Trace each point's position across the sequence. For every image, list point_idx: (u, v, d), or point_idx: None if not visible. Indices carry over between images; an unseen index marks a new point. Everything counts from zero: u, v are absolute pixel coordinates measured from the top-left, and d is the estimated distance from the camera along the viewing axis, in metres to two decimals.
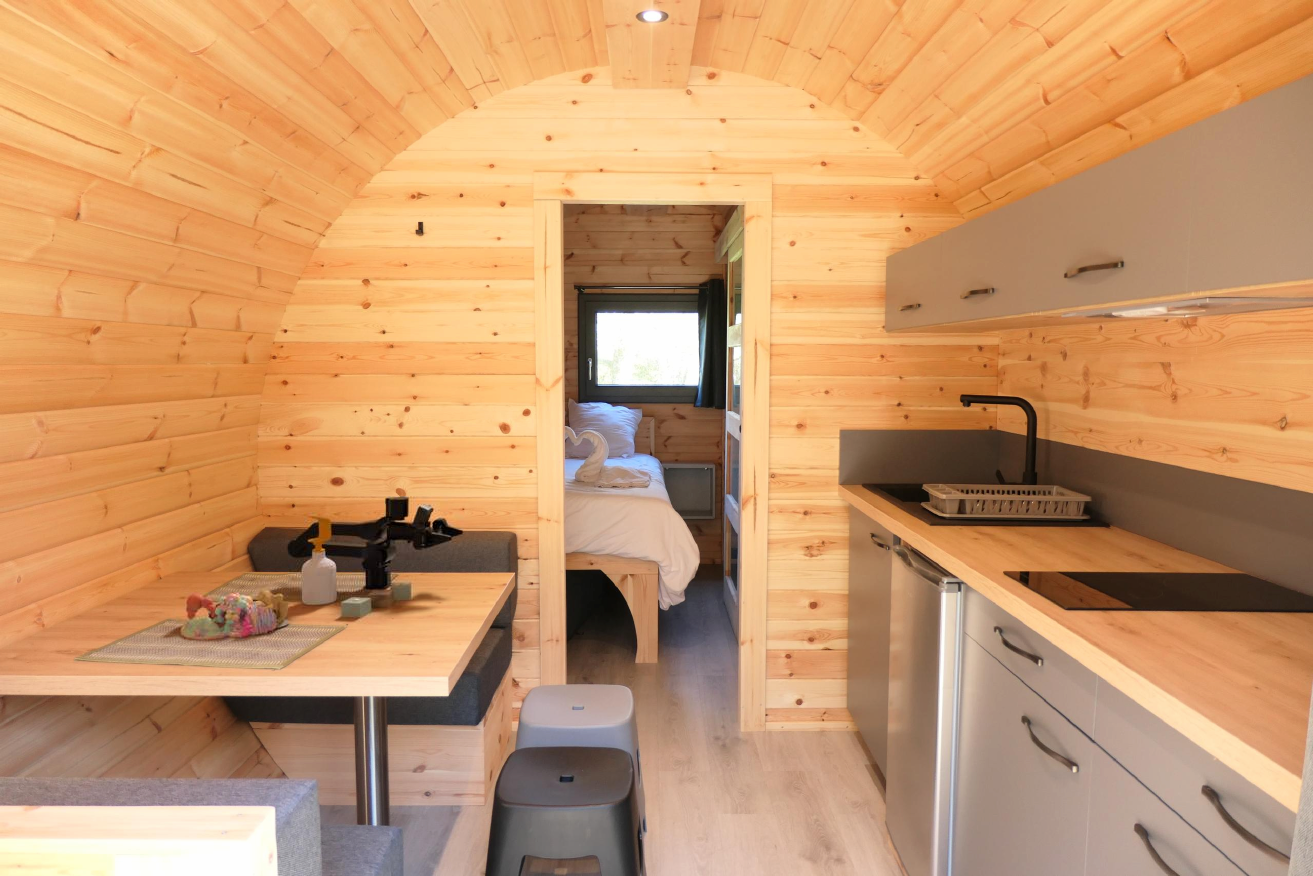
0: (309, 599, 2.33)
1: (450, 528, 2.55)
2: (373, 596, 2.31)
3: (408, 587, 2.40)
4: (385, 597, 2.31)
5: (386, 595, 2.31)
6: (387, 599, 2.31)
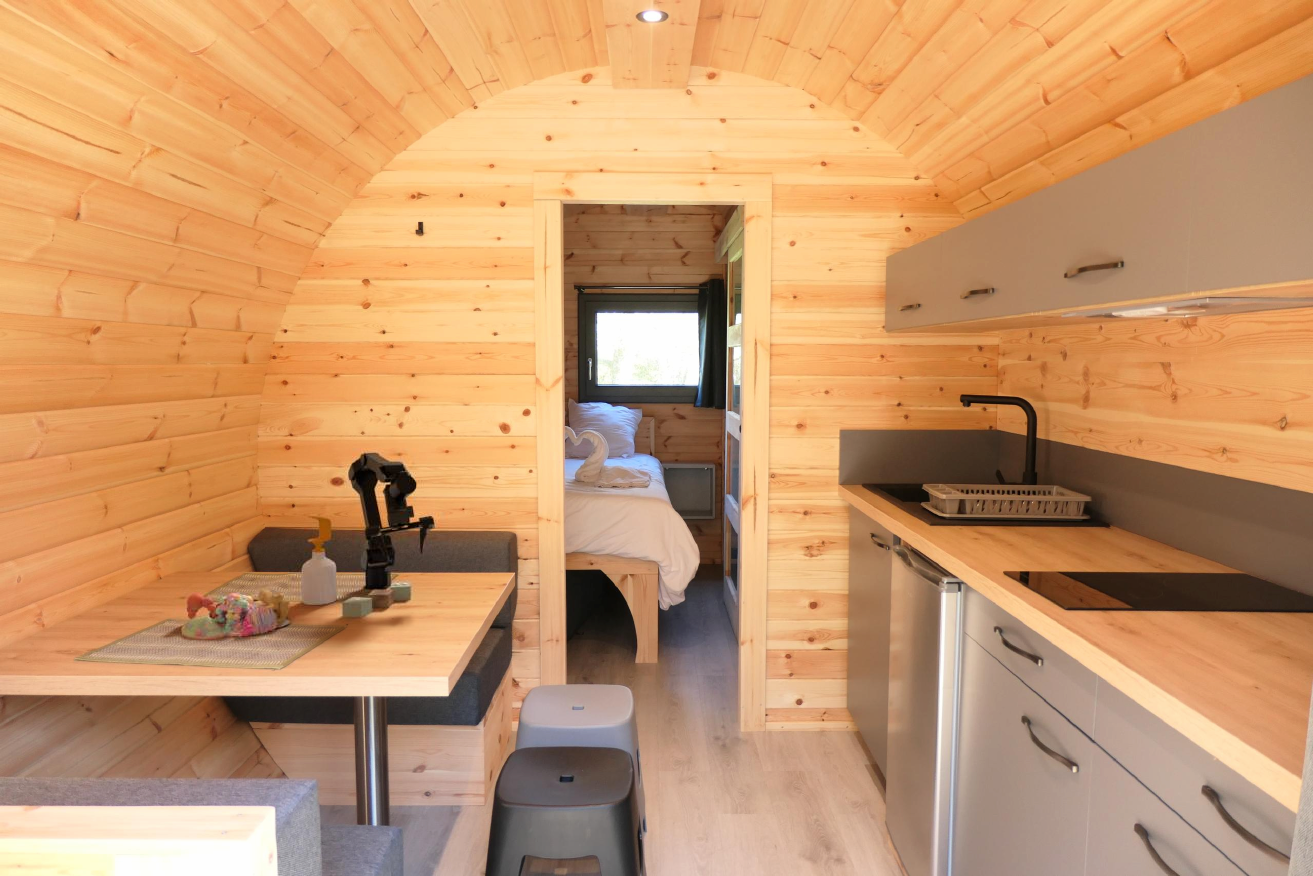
0: (309, 599, 2.33)
1: None
2: (373, 596, 2.31)
3: (408, 587, 2.40)
4: (385, 597, 2.31)
5: (386, 595, 2.31)
6: (387, 599, 2.31)
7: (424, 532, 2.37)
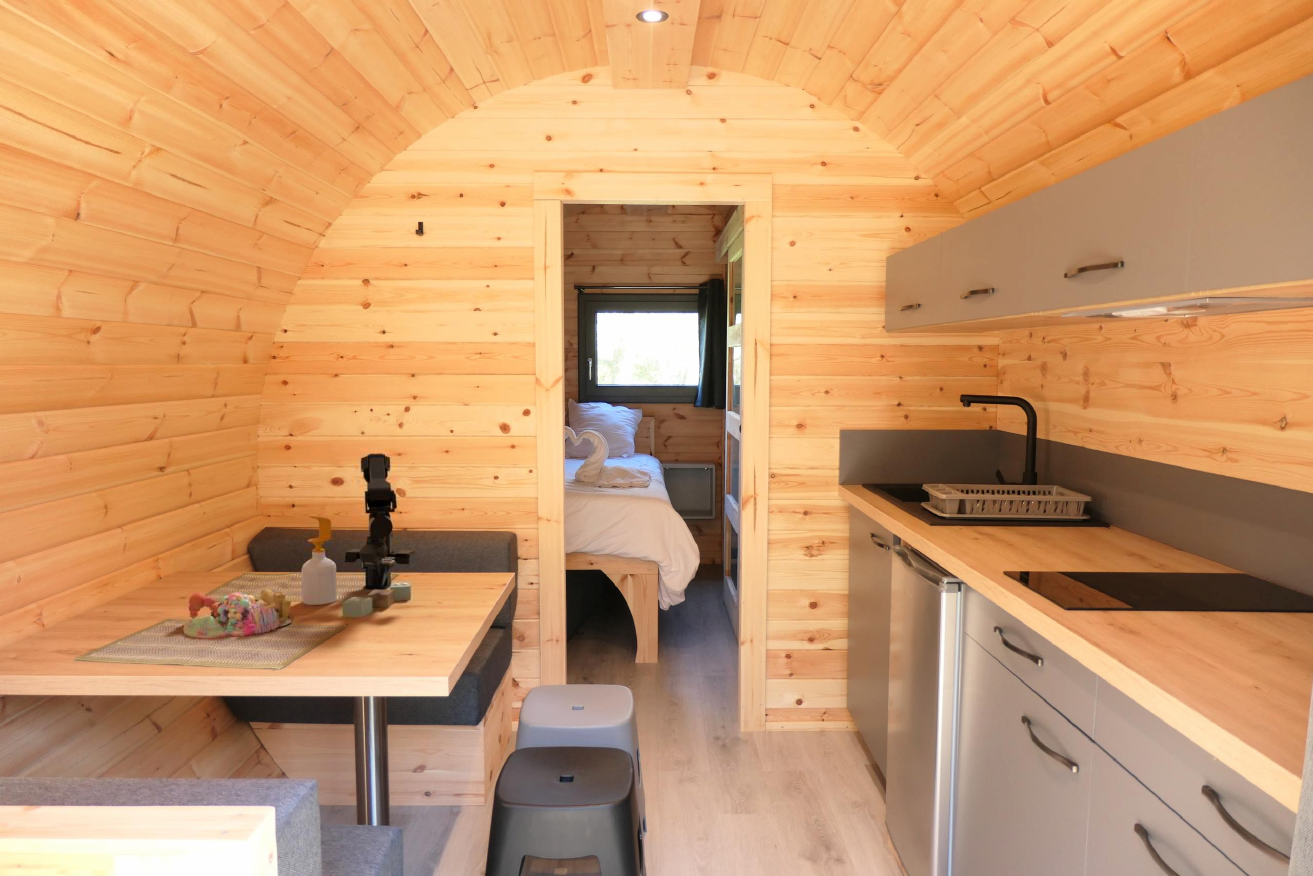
0: (309, 599, 2.33)
1: None
2: (373, 596, 2.31)
3: (408, 587, 2.40)
4: (384, 597, 2.31)
5: (385, 595, 2.31)
6: (386, 599, 2.31)
7: (384, 568, 2.31)
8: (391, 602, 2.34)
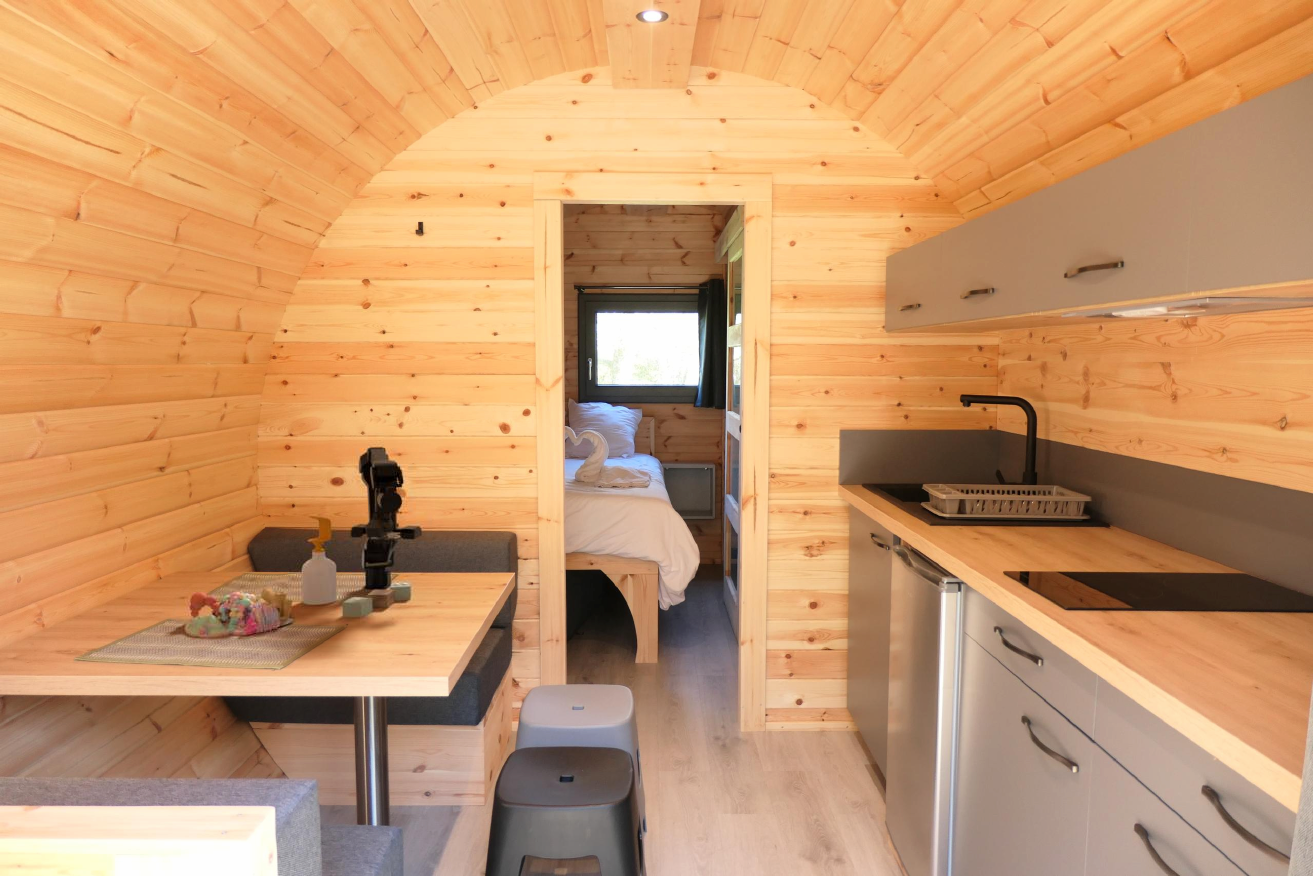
0: (309, 599, 2.33)
1: None
2: (372, 596, 2.31)
3: (408, 587, 2.40)
4: (384, 597, 2.31)
5: (385, 595, 2.31)
6: (386, 599, 2.31)
7: (389, 543, 2.33)
8: (391, 602, 2.34)
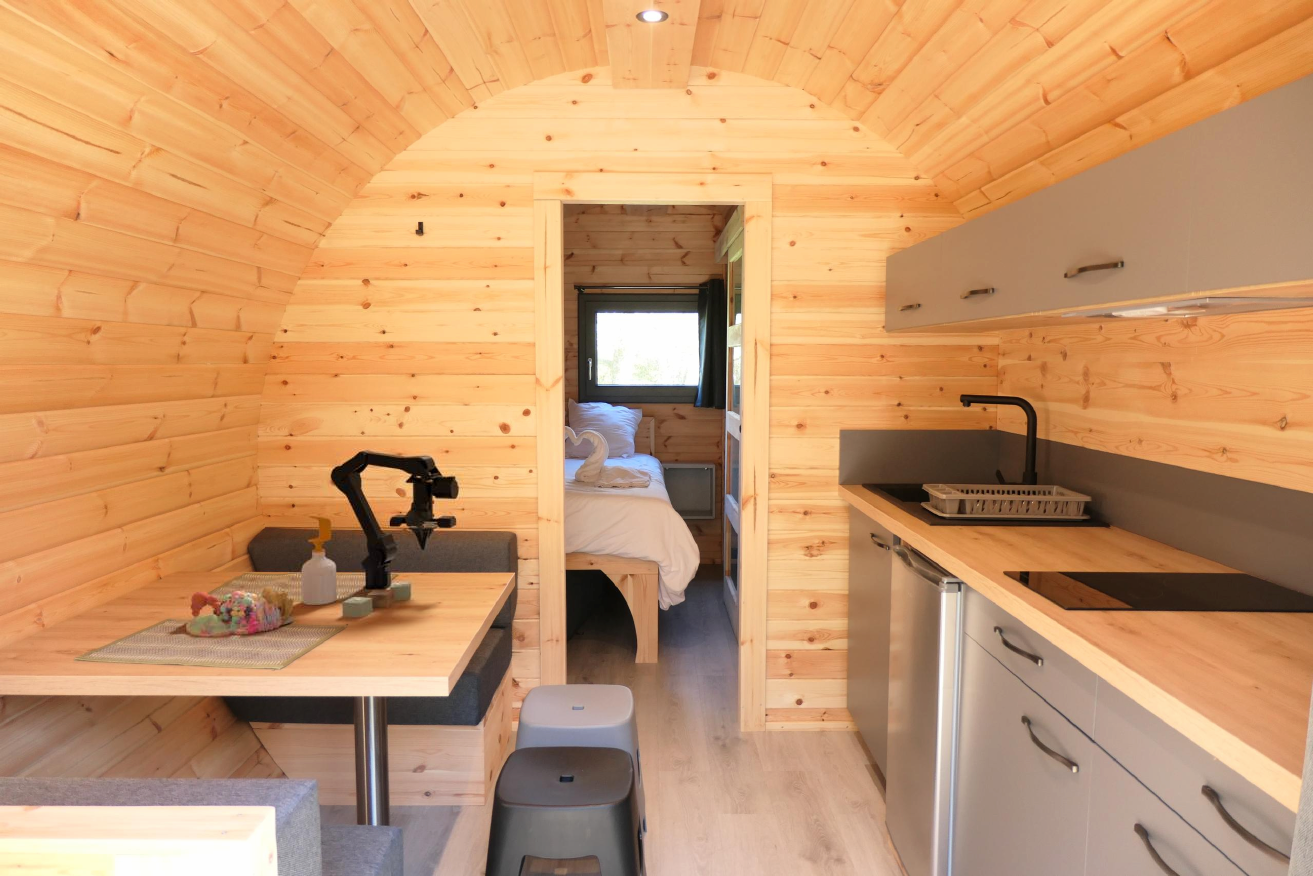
0: (309, 599, 2.33)
1: None
2: (372, 596, 2.31)
3: (408, 587, 2.40)
4: (384, 597, 2.31)
5: (385, 595, 2.31)
6: (386, 599, 2.31)
7: (427, 532, 2.49)
8: (391, 602, 2.34)
